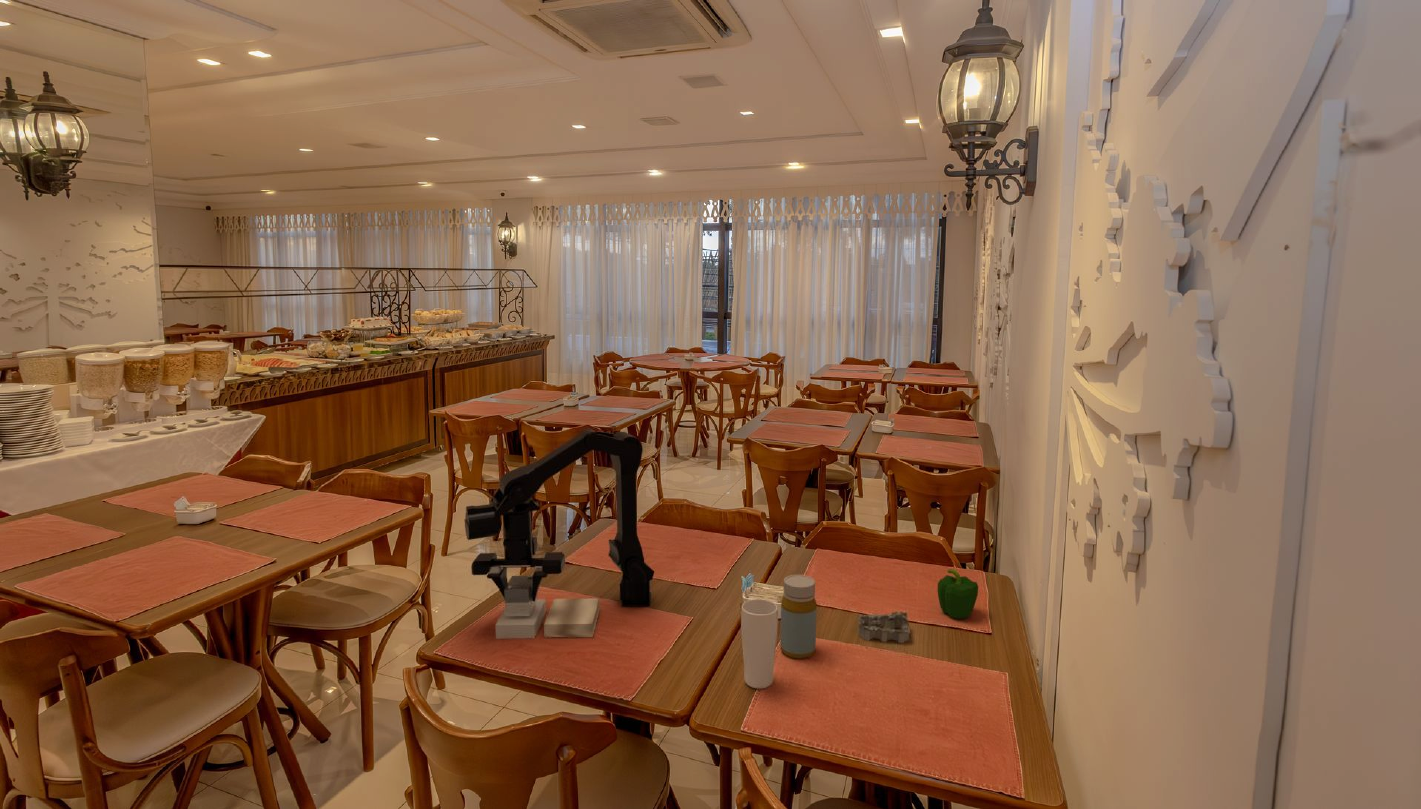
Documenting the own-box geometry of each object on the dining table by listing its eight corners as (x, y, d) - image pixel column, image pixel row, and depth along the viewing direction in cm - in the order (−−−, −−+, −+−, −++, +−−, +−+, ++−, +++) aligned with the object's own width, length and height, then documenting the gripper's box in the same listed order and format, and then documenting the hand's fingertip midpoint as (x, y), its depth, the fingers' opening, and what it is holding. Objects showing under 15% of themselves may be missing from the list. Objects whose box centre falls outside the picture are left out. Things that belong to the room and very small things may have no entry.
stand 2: (599, 610, 162) (599, 598, 162) (592, 637, 151) (592, 623, 150) (554, 611, 162) (554, 599, 162) (544, 637, 150) (543, 624, 150)
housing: (536, 601, 159) (535, 574, 158) (529, 615, 152) (528, 587, 151) (513, 601, 159) (512, 574, 158) (505, 616, 152) (504, 588, 151)
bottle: (818, 645, 147) (820, 576, 145) (811, 662, 141) (813, 590, 138) (784, 640, 149) (786, 571, 147) (776, 656, 143) (778, 585, 140)
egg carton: (908, 629, 155) (909, 611, 154) (909, 646, 147) (910, 628, 147) (857, 623, 157) (858, 606, 156) (856, 640, 150) (857, 622, 149)
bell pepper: (984, 619, 159) (987, 576, 157) (953, 625, 156) (956, 581, 154) (959, 603, 166) (962, 562, 165) (929, 608, 164) (932, 567, 162)
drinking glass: (778, 692, 131) (779, 615, 128) (740, 692, 131) (741, 615, 128) (775, 672, 137) (777, 598, 135) (740, 671, 137) (740, 598, 135)
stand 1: (545, 611, 162) (545, 599, 161) (534, 638, 150) (534, 624, 150) (510, 612, 162) (509, 599, 161) (496, 638, 150) (495, 625, 149)
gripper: (568, 518, 161) (570, 584, 163) (483, 519, 160) (487, 585, 163) (559, 536, 150) (562, 606, 152) (468, 537, 149) (473, 608, 152)
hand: (521, 600), depth 155 cm, fingers open, 5 cm apart
